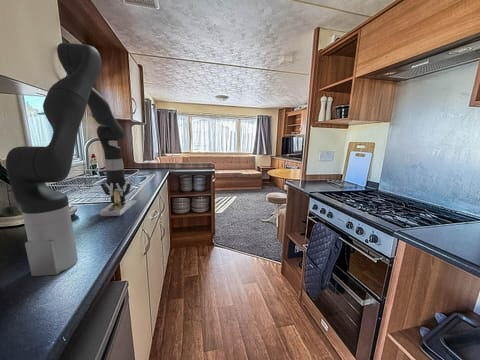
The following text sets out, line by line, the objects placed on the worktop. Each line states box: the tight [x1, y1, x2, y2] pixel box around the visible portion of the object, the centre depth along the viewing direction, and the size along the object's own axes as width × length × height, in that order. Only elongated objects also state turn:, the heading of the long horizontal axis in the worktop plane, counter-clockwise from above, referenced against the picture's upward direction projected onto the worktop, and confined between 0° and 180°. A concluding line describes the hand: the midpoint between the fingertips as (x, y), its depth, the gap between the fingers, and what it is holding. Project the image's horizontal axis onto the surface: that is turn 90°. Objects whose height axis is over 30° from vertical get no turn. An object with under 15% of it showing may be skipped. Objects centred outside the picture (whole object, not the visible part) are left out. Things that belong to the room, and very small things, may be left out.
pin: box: [113, 189, 123, 206], centre depth 102 cm, size 4×4×9 cm
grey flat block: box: [99, 199, 137, 217], centre depth 104 cm, size 20×8×3 cm, turn 7°
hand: (118, 202), depth 103 cm, fingers closed on pin, 3 cm apart
